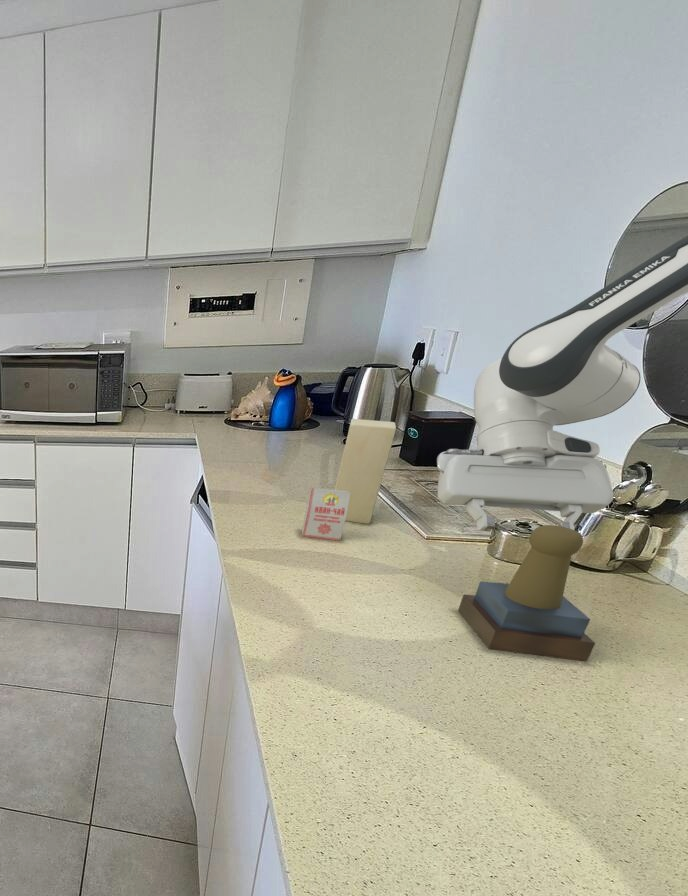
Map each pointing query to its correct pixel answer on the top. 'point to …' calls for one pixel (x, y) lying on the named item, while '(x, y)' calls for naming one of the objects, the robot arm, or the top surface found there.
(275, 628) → the top surface
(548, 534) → the cork
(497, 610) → the block stack
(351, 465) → the cream tall block
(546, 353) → the robot arm
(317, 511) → the tea bag
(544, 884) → the top surface
